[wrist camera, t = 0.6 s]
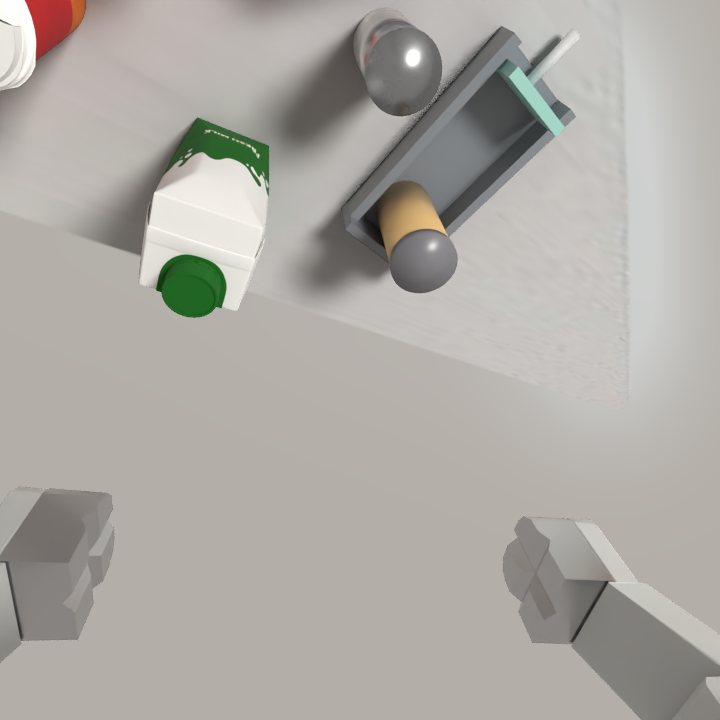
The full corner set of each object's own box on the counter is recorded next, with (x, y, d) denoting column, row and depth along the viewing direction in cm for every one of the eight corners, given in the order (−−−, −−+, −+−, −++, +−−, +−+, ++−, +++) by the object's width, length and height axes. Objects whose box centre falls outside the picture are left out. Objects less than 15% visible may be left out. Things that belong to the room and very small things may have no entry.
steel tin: (382, -11, 40) (404, 7, 32) (427, 41, 43) (457, 69, 35) (339, 48, 43) (349, 79, 35) (384, 94, 46) (403, 132, 37)
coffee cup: (-40, -33, 37) (-184, -12, 26) (28, -113, 34) (-99, -128, 23) (60, 72, 42) (-24, 126, 31) (125, 9, 39) (59, 43, 28)
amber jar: (403, 167, 50) (425, 220, 41) (442, 203, 53) (471, 260, 44) (363, 211, 53) (376, 269, 44) (402, 243, 56) (422, 303, 47)
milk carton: (172, 190, 50) (121, 304, 35) (189, 101, 44) (137, 192, 30) (256, 219, 53) (241, 335, 38) (281, 139, 47) (275, 238, 33)
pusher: (551, -3, 41) (575, 4, 37) (593, 62, 45) (620, 75, 41) (490, 63, 44) (508, 76, 40) (535, 119, 48) (555, 136, 44)
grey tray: (501, 25, 43) (520, 36, 39) (560, 105, 48) (583, 121, 44) (341, 208, 53) (345, 229, 49) (404, 258, 58) (412, 281, 54)
